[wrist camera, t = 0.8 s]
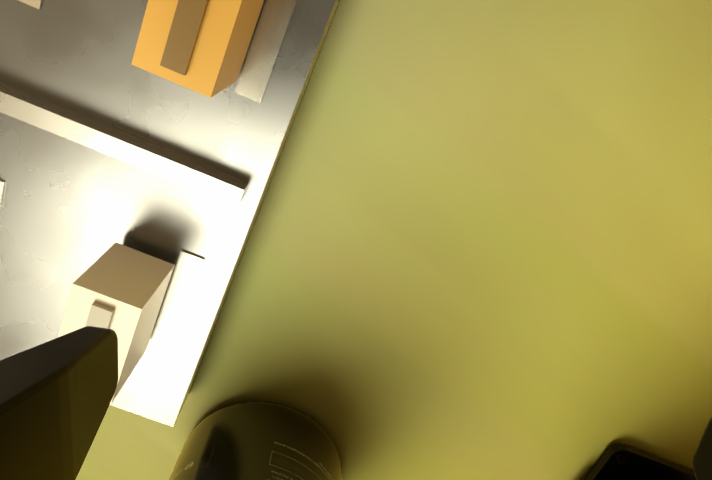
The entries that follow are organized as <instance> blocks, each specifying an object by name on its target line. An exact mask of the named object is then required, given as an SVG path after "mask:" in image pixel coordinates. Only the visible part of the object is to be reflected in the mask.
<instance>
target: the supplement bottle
mask: <svg viewBox="0 0 712 480" xmlns="http://www.w3.org/2000/svg"><path fill="white" fill-rule="evenodd" d="M169 480H341V462H340V458H339V455H338V452H337V449H336V447H335V445H334V443H333V442H332V440H331V439H330V437H329V436H328V434H327V433H326V432H325V431H324V430H323V429H322V428H321V427H320V426H319V425H318V424H317V423H316V422H314V421H313V420H312V419H310V418H309V417H307V416H306V415H304V414H302V413H301V412H299V411H296V410H294V409H292V408H289V407H286V406H283V405H279V404H274V403H268V402H246V403H239V404H235V405H231V406H228V407H225V408H222V409H220V410H218V411H216V412H214V413H212V414H210V415H209V416H208V417H206V418H205V419H204V420H202V421H201V422H200V423H199V424H198V425H197V426H196V427H195V428H194V430H193V431H192V432H191V434H190V435H189V437H188V439H187V441H186V443H185V445H184V447H183V449H182V451H181V454H180V456H179V458H178V460H177V462H176V465H175V467H174V470H173V472H172V474H171V477H170V479H169Z"/></svg>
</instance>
